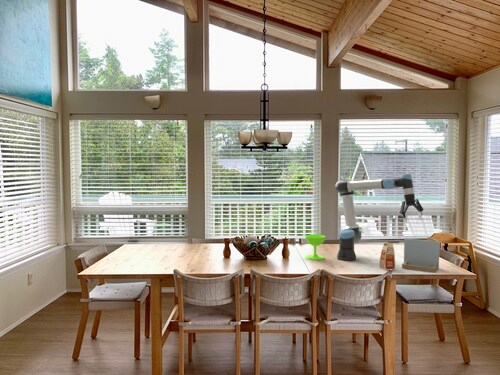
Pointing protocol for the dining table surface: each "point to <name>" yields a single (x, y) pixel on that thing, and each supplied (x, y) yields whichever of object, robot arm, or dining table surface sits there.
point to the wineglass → (315, 241)
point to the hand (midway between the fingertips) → (413, 221)
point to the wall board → (421, 255)
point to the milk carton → (387, 257)
